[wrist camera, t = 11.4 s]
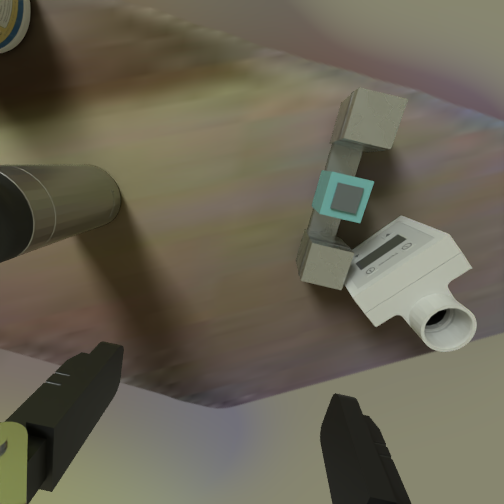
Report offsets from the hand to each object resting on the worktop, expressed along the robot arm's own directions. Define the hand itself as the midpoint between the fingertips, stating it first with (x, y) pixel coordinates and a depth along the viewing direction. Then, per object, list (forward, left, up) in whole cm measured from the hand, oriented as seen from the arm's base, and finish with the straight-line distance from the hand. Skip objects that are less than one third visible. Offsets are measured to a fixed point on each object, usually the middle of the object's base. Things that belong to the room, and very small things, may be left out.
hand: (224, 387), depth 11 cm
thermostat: (+22, -4, -35) cm, 41 cm away
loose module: (+9, +7, -33) cm, 35 cm away
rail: (+9, +7, -35) cm, 37 cm away
